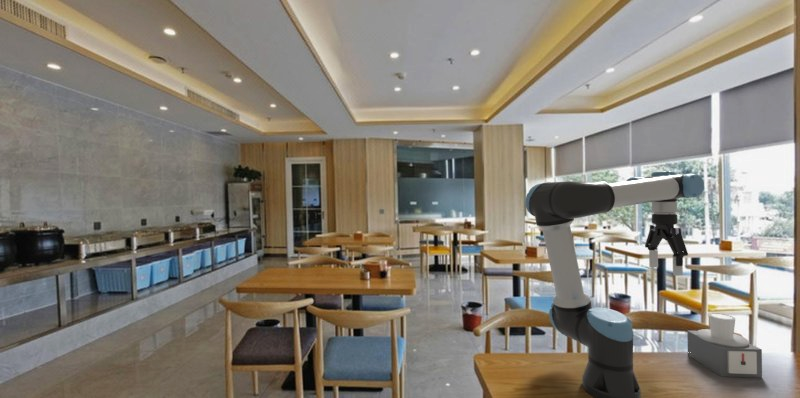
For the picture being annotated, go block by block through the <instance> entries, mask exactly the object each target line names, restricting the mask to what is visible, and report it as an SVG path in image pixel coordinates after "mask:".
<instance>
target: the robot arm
mask: <svg viewBox="0 0 800 398" xmlns="http://www.w3.org/2000/svg"><path fill="white" fill-rule="evenodd" d="M650 175H651V176H633V177H630V178H627V179H626V180H625V181H618V182H611V183H608V182H606V181H602V180H601V181H599V180H598V181H577V180H576V181H573V180H572V181H570V180H566V181H553V182H551V181H549V182H548V181H547V182H542V183H538V184H536V185H535V184H534V185H533V186H532V187H531V188H530V189H529V190H528V192H527V193H526V196H525V208H526V211H527V212H528V213H529V214H530V215H531V216H533V217H534V219H535V224H536V227H538V228H540V229H541V230H542V234H543V238H544V243H545V248H546V252H547V256H548V257H547V258H548V261H549V267H550V272H551V276H552V282H553V286H554V291H555V296H554V298H553V299H552V303H551V306H550V309H549V311H548V316H549V322H550V324H551V325H552V327H553V328H554V329H555V330H556V331H558V332H559V333H560V334H562V335H564V336H565V337H566V338H567V337H568V338H570V339H572V340H573V341H576V342H578V343H580V344H582V345H584V346H585V347H587V352H588V353H587V354H588V355H587V357H588V358H587V363H586V366H585V369H584V372H583V374H582V378H581V381H582V382H581V383H582V387H584V388H583V389H584V391H585V392H587V394H589V395H591V397H594V398H642V396H641V395H642V391H641V388H640V384H639V381H638V379H637V377H636V374H635V371H634V331H633V323H632V320H631V319H630V318H629V317H628V316H627V315H626V314H624V313H623V312H622V313H621V312H620V311H617V310H615V309H609V308H607V307H601V306H598V307H596V306H595V307H593V306H592V301H591V297H589V295H587V294H585V292H584V288H583V283H582V277H581V273H580V268H579V263H578V258H577V254H576V253H577V252H576V249H575V244H574V239H573V234H572V230H571V224H572V223H573V222H574V221H575V219H579V218H584V217H590V216H595V215H599V214H604V213H609V212H611V211H612V210H613V209H616V208H622V207H628V206H635V205H641V204H647V203H651V212H652V214H651V223H652V224H650V225H649V232H648V234H647V238H646V240H645V241H646V242H645V244H644V247H645V248H647V250H648V252H649V253H648V256H649V257H648V258H649V259H648V261H649V263H648V265H649V268H659V249H658V247H659V245H660V244H661V242H662V240H664V241H666V242H667V244H668V245H669V247H670V250H671V252H672V275H673V276H684V275H683V266H684V257H685V256H686V257H687V256H689V252H688V250H687V246H686V244H685V241H684V238H683V235H682V229H681V227H675V225H678V214H676V213H678V199H681V198H682V199H690V198H697V197H698V198H699V196H700V197H701V195H702V194H703V192H704V191H705V182H704V181H705V180H704V178H703V177H701V175H699V174H697V173H685V174H677V172H676V171H672V170H668V171H667V170H666V171H653V172H651V174H650Z"/></svg>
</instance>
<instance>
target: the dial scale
mask: <svg viewBox="0 0 800 398" xmlns="http://www.w3.org/2000/svg"><path fill="white" fill-rule="evenodd" d="M686 331H687V355H688V356H689V357H690V358H692V359H693V360H695V361H696V362H698V363H700V364H702V366H704V367H706V368H707V369H709V370H710V371H712V372H714V373H715V374H717V375H718V376H720V377H731V378H733V377H735V378H758V379H759V378H760V377H761V378H763V353H762V352H763V351H762V348H759V347H758V346H755V345H753V344H751V343H750V341H749V339H748V338H746V337H744V336H742V335H739V334H736V333H734V336H733V339H732V340H725V339H720V338H716V337H714V336H712V335H711V331H710V328H705V329H703V328H702V329H698V330H686ZM688 352H689V353H688ZM690 352H691V353H690Z"/></svg>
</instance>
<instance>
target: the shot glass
mask: <svg viewBox="0 0 800 398" xmlns="http://www.w3.org/2000/svg"><path fill="white" fill-rule="evenodd" d="M707 315H708V321H709V322H708V323H709V329H710V331H711V335H712V336H714V337H716V338H720V339H725V340H732V339H733V336H734V334H735V333H734V332H735V325H736V317H734V316H732V315H729V314H725V313H719V312H716V313H715V312H710V313H708V314H707Z"/></svg>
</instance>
